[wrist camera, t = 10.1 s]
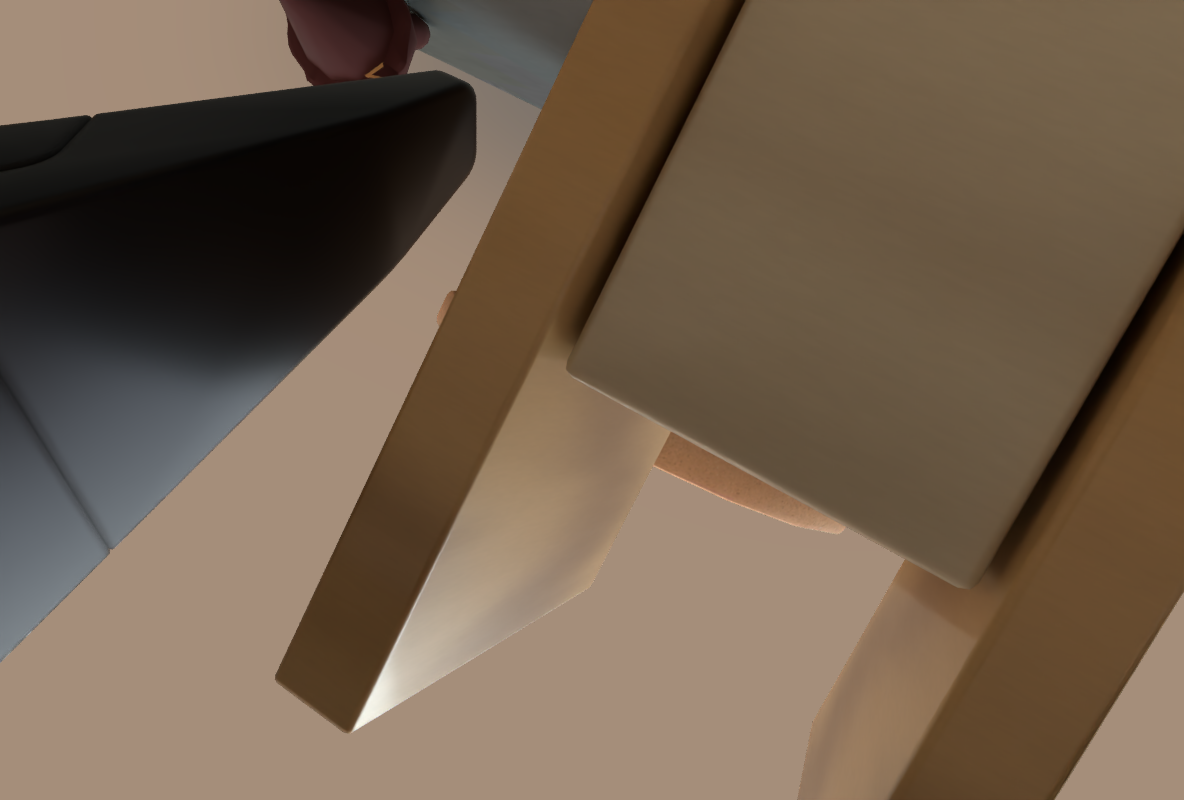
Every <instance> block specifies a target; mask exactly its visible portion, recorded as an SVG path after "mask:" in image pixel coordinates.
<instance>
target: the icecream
mask: <svg viewBox="0 0 1184 800" xmlns="http://www.w3.org/2000/svg"><path fill="white" fill-rule="evenodd" d="M279 1H280V3H281V5H282V7H283V9H284V11H285V13H286V16H287V22H288V32H287V34H288V45H289V48H290V50H291V52H292V55H293V56H294V57H295V59H296V60H297V62H298V63H299V64H300V66H301V67H302V68H303V70H304V71H305V75H306V78H307V81H309V82H310V83H312V85H313V86H317V85H325V84H333V83H341V82H348V81H356V80H364V79H372V78H379V77H387V76H395V75H403V74H407V72H408V69H409V66H410V63H411V60H412V57H413V54H414V52H415V50H418V49H422V48H423V47H424V46H425V45H426V44H427V43H428V41H429V38H430V31H429V27H428V25H427V24H426V23H425V22H424V21H423V20H422V19H420V18H419V17H418V16H417V15H416V14H412V13H410V10H409V6H408V5H407V4H406V2H405V1H404V0H279Z"/></svg>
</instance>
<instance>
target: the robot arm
mask: <svg viewBox="0 0 1184 800" xmlns="http://www.w3.org/2000/svg"><path fill="white" fill-rule="evenodd" d="M475 158H476V95H475V92H474V89H473V88H472V86H471V85H470V84H469V83H467V82H465V81H463V80H461V79H458V78H456V77H454V76H452V75H449V74H447V73H445V72H442V71H437V70H435V71H426V72H418V73H410V74H403V75H395V76H387V77H379V78H372V79H364V80H356V81H348V82H341V83H333V84H325V85H317V86H310V87H302V88H295V89H287V90H279V91H271V92H263V93H255V94H248V95H240V96H232V97H225V98H217V99H209V100H202V101H193V102H186V103H178V104H171V105H162V106H155V107H148V108H139V109H132V110H124V111H116V112H108V113H100V114H96V115H95V116H94V117H93V118H91V117H90V116H87V115H84V116H76V117H68V118H61V119H54V120H45V121H36V122H27V123H18V124H10V125H1V126H0V662H1V661H2V660H4V659H5V657H6V656H8V654H10V653H11V652H12V651H13V650H14V648H16V647H17V646H18V645H19V644H20V643H21V642H22V641H23V639H24V638H26V636H28V635H29V634H30V633H31V631H33V630H34V629H35V628H36V627H37V626H38V624H40V623H41V622H42V621H43V620H44V619H45V618H46V617H47V616H48V615H49V614H50V612H52V610H53V609H55V608H56V607H57V606H58V605H59V603H61V601H63V599H65V598H66V597H67V596H68V595H69V594H70V593H71V592H72V591H73V590H74V589H75V588H76V587H77V586H78V584H80V583H81V582H82V581H83V580H84V579H85V578H86V577H87V576H88V575H89V574H90V573H91V572H92V571H93V570H94V569H95V568H96V567H97V565H99V564H100V563H101V562H102V561H103V560H104V559H105V558H106V557H107V556H108V555H109V553H110V549H114V548H115V547H116V546H117V545H118V544H119V543H120V542H121V541H122V540H123V539H124V538H125V537H126V536H127V535H128V534H129V533H130V532H131V531H132V530H133V529H134V528H135V527H136V526H137V525H138V524H139V523H140V522H141V521H142V520H143V519H144V518H145V517H146V516H147V515H148V514H149V513H150V512H151V511H152V510H153V509H154V508H155V507H156V506H157V505H158V504H159V503H160V502H161V501H162V500H163V499H164V498H165V497H166V496H167V495H168V494H169V493H170V492H171V491H172V490H173V489H174V488H175V487H176V486H177V485H178V484H179V483H180V482H181V481H182V480H183V479H184V478H185V477H186V476H187V475H188V474H189V473H190V472H191V471H192V470H193V469H194V468H195V467H196V466H197V465H198V464H199V463H200V462H201V461H202V460H203V459H204V458H205V457H206V456H207V455H208V454H209V453H210V452H211V451H212V450H213V449H214V448H215V447H216V446H217V445H218V444H219V443H220V442H221V441H222V440H223V439H224V438H225V437H226V436H227V435H228V434H229V433H230V432H231V431H232V430H233V429H234V428H235V427H236V426H237V425H238V424H239V423H240V422H241V421H242V420H243V419H244V418H245V417H246V416H247V415H248V414H249V413H250V412H251V411H252V410H253V409H254V408H255V407H256V406H257V405H258V404H259V403H260V402H261V401H262V400H263V399H264V398H265V397H267V395H269V393H271V392H272V391H273V389H274V388H276V386H278V384H279V383H280V382H281V381H283V380H284V379H285V378H286V377H287V376H288V375H289V374H290V372H291V371H293V370H294V369H295V367H297V366H298V365H299V364H300V363H301V362H302V361H303V359H305V358H306V357H307V356H308V354H310V353H311V351H312V350H314V349H315V348H316V346H318V345H319V344H320V343H321V342H322V341H323V339H325V338H326V337H327V336H328V335H329V334H330V333H331V331H333V329H335V328H336V327H337V326H338V325H339V324H340V323H341V322H342V321H343V319H345V318H346V317H347V316H348V315H349V314H350V312H352V311H353V310H354V309H355V308H356V307H357V306H358V305H359V304H360V303H361V302H362V301H363V300H364V299H365V298H366V297H367V296H368V295H369V294H370V293H371V292H372V291H373V290H374V289H375V288H376V287H377V286H378V285H379V283H381V281H383V279H384V278H385V277H386V276H387V275H388V274H389V273H390V272H391V271H392V270H393V269H394V267H395V266H396V265H397V264H398V263H399V262H400V260H401V259H402V258H403V257H404V256H405V255H406V253H407V252H408V251H409V249H410V248H411V247H412V246H413V245H414V243H415V242H416V241H417V240H418V238H419V237H420V235H422V233H423V232H424V231H425V229H426V228H427V227H428V226H429V225H430V223H431V222H432V221H433V219H434V218H435V217H436V216H437V214H438V213H439V212H440V211H441V209H442V208H443V207H444V206H445V204H446V203H447V202H448V201H449V199H450V198H451V197H452V196H453V194H454V193H455V192H456V191H457V189H458V188H459V187H460V186H461V184H462V183H463V182H464V181H465V179H466V178H467V176H468V175H469V174H470V172H471V170H472V168H473V165H474V162H475Z"/></svg>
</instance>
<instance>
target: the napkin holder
mask: <svg viewBox="0 0 1184 800" xmlns="http://www.w3.org/2000/svg"><path fill="white" fill-rule="evenodd" d="M670 432H673V433H675V434H676V435H678V436H680V437H682V438H684V439H686V440H687V441H689V442H691V443H693V444H695V445H697V446H698V447H700V448H702V449H704V450H706V451H708V452H709V453H711V454H713V455H715V456H717V457H719V458H720V459H722V460H724V461H726V462H728V463H730V464H731V465H733V466H735V467H737V468H739V469H741V470H742V471H744V472H746V473H748V474H750V475H752V476H754V477H755V478H757V479H759V480H761V481H763V482H765V483H766V484H768V485H770V486H772V487H774V488H776V489H777V490H779V491H781V492H783V493H785V494H787V495H788V496H790V497H792V498H794V499H796V500H798V501H799V502H801V503H803V504H805V505H807V506H809V507H810V508H812V509H814V510H816V511H818V512H820V513H821V514H823V515H825V516H827V517H829V518H831V519H832V520H834V521H836V522H838V523H840V524H842V525H843V526H845V527H847V528H849V529H851V530H853V531H854V532H856V533H858V534H860V535H862V536H864V537H865V538H867V539H869V540H871V541H873V542H875V543H876V544H878V545H880V546H882V547H884V548H886V549H887V550H889V551H891V552H893V553H895V554H897V555H898V556H900V557H902V558H904V559H905V560H904V562H903V564H902V566H901V567H900V569H899V571H898V573H897V574H896V576H895V578H894V580H893V582H892V583H891V585H890V587H889V589H888V590H887V592H886V594H885V596H884V598H883V599H882V601H881V603H880V605H879V606H878V608H877V610H876V611H875V613H874V615H873V617H872V618H871V620H870V622H869V624H868V626H867V627H866V629H865V631H864V633H863V634H862V636H861V638H860V640H859V642H858V643H857V645H856V647H855V649H854V650H853V652H852V654H851V656H850V657H849V659H848V661H847V662H846V664H845V666H844V668H843V669H842V671H841V673H840V675H839V677H838V678H837V680H836V682H835V684H834V685H833V687H832V689H831V691H830V692H829V694H828V696H827V698H826V699H825V701H824V703H823V705H822V706H821V708H820V710H819V712H818V713H817V715H816V717H815V719H814V721H813V722H812V728H811V732H810V738H809V743H808V748H807V753H806V759H805V763H804V768H803V773H802V778H801V784H800V789H799V794H798V799H797V800H1055V799H1056V798H1057V796H1058V794H1059V793H1060V791H1061V790H1062V788H1063V786H1064V784H1065V783H1066V781H1067V780H1068V778H1069V777H1070V775H1071V773H1072V772H1073V770H1074V768H1075V767H1076V765H1077V764H1078V762H1079V760H1080V759H1081V757H1082V755H1083V754H1084V752H1085V751H1086V749H1087V748H1088V746H1089V744H1090V743H1091V741H1092V739H1093V738H1094V736H1095V735H1096V733H1097V731H1098V730H1099V728H1100V726H1101V725H1102V723H1103V722H1104V720H1105V718H1106V717H1107V715H1108V713H1109V712H1110V710H1111V709H1112V707H1113V705H1114V704H1115V702H1116V701H1117V699H1118V697H1119V696H1120V694H1121V693H1122V691H1123V689H1124V688H1125V686H1126V684H1127V683H1128V681H1129V680H1130V678H1131V676H1132V675H1133V673H1134V672H1135V670H1136V668H1137V667H1138V665H1139V663H1140V662H1141V660H1142V659H1143V657H1144V655H1145V653H1146V652H1147V651H1148V649H1149V647H1150V646H1151V644H1152V642H1153V641H1154V639H1155V637H1156V636H1157V634H1158V633H1159V631H1160V629H1161V628H1162V626H1163V624H1164V623H1165V621H1166V620H1167V618H1168V616H1169V615H1170V613H1171V612H1172V610H1173V608H1174V607H1175V605H1176V604H1177V602H1178V600H1179V599H1180V597H1181V596H1182V594H1183V592H1184V0H593V2H592V4H591V6H590V8H589V10H588V13H587V15H586V17H585V19H584V21H583V23H582V25H581V27H580V30H579V32H578V34H577V36H576V38H575V40H574V42H573V44H572V47H571V49H570V51H569V53H568V55H567V57H566V59H565V61H564V64H563V66H562V68H561V70H560V72H559V74H558V76H557V78H556V81H555V83H554V85H553V87H552V89H551V91H550V93H549V95H548V97H547V100H546V102H545V104H544V106H543V108H542V110H541V112H540V115H539V117H538V119H537V121H536V123H535V125H534V128H533V129H532V131H531V134H530V136H529V138H528V140H527V142H526V144H525V146H524V148H523V151H522V153H521V155H520V157H519V159H518V161H517V163H516V165H515V168H514V170H513V172H512V174H511V176H510V178H509V180H508V182H507V185H506V187H505V189H504V191H503V193H502V195H501V197H500V199H499V202H498V204H497V206H496V208H495V210H494V212H493V214H492V216H491V219H490V221H489V223H488V225H487V227H486V229H485V231H484V234H483V235H482V238H481V240H480V242H479V244H478V246H477V248H476V250H475V253H474V255H473V257H472V259H471V261H470V263H469V265H468V267H467V270H466V272H465V274H464V276H463V278H462V280H461V282H460V285H459V286H458V289H457V291H456V293H455V295H454V297H453V299H452V301H451V303H450V306H449V308H448V310H447V312H446V314H445V316H444V318H443V320H442V323H441V325H440V327H439V329H438V331H437V333H436V335H435V337H434V340H433V342H432V344H431V346H430V348H429V350H428V352H427V354H426V357H425V359H424V361H423V363H422V365H421V367H420V369H419V371H418V373H417V376H416V378H415V380H414V382H413V384H412V386H411V388H410V390H409V393H408V395H407V397H406V399H405V401H404V403H403V405H402V408H401V410H400V412H399V414H398V416H397V418H396V420H395V423H394V424H393V427H392V429H391V431H390V433H389V435H388V437H387V439H386V441H385V444H384V446H383V448H382V450H381V452H380V454H379V456H378V459H377V461H376V463H375V465H374V467H373V469H372V471H371V474H370V476H369V478H368V480H367V482H366V484H365V486H364V488H363V490H362V493H361V495H360V497H359V499H358V501H357V503H356V505H355V507H354V509H353V512H352V514H351V516H350V518H349V520H348V522H347V524H346V526H345V529H344V531H343V533H342V535H341V537H340V539H339V541H338V543H337V545H336V548H335V550H334V552H333V554H332V556H331V558H330V560H329V562H328V565H327V567H326V569H325V571H324V573H323V575H322V578H321V579H320V582H319V584H318V586H317V588H316V590H315V592H314V594H313V597H312V599H311V601H310V603H309V605H308V607H307V609H306V611H305V613H304V616H303V618H302V620H301V622H300V624H299V626H298V628H297V630H296V633H295V635H294V637H293V639H292V641H291V643H290V645H289V647H288V650H287V652H286V654H285V656H284V658H283V660H282V662H281V664H280V666H279V669H278V671H277V673H276V675H275V680H276V682H277V683H278V684H279V685H281V686H282V687H283V688H285V689H286V690H287V691H289V692H290V693H291V694H293V695H294V696H296V697H297V698H298V699H299V700H301V701H302V702H303V703H305V704H306V705H308V706H309V707H310V708H312V709H313V710H314V711H316V712H317V713H318V714H320V715H321V716H322V717H324V718H325V719H326V720H328V721H329V722H330V723H332V724H333V725H334V726H336V727H337V728H338V729H340V730H341V731H342V732H345V733H352V732H354V731H355V730H357V729H359V728H360V727H362V726H364V725H365V724H367V723H368V722H370V721H372V720H373V719H375V718H377V717H378V716H380V715H382V714H383V713H385V712H386V711H388V710H390V709H391V708H393V707H395V706H396V705H398V704H400V703H401V702H403V701H405V700H406V699H408V698H409V697H411V696H413V695H414V694H416V693H418V692H419V691H421V690H422V689H424V688H426V687H427V686H429V685H431V684H432V683H434V682H436V681H437V680H439V679H440V678H442V677H444V676H445V675H447V674H449V673H450V672H452V671H454V670H455V669H457V668H458V667H460V666H462V665H463V664H465V663H467V662H468V661H470V660H472V659H473V658H475V657H477V656H478V655H480V654H481V653H483V652H485V651H486V650H488V649H490V648H491V647H493V646H495V645H496V644H498V643H499V642H501V641H503V640H504V639H506V638H508V637H509V636H511V635H513V634H514V633H516V632H517V631H519V630H521V629H522V628H524V627H526V626H527V625H529V624H531V623H532V622H534V621H535V620H537V619H539V618H540V617H542V616H544V615H545V614H547V613H549V612H550V611H552V610H554V609H555V608H557V607H558V606H560V605H562V604H563V603H565V602H567V601H568V600H570V599H572V598H573V597H575V596H576V595H578V594H580V593H581V592H583V591H585V590H586V589H588V588H589V587H590V586H591V585H592V583H593V581H594V579H595V577H596V575H597V573H598V571H599V569H600V568H601V566H602V564H603V562H604V560H605V558H606V556H607V554H608V552H609V550H610V548H611V546H612V544H613V542H614V541H615V539H616V537H617V535H618V533H619V531H620V529H621V527H622V525H623V523H624V521H625V519H626V517H627V515H628V513H629V511H630V510H631V507H632V506H633V504H634V502H635V500H636V498H637V496H638V494H639V492H640V490H641V488H642V486H643V484H644V482H645V481H646V479H647V477H648V475H649V473H650V471H651V469H652V467H653V465H654V463H655V461H656V459H657V457H658V456H659V454H660V452H661V450H662V448H663V446H664V444H665V442H666V440H667V438H668V436H669V434H670Z"/></svg>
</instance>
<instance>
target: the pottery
mask: <svg viewBox="0 0 1184 800" xmlns="http://www.w3.org/2000/svg"><path fill="white" fill-rule="evenodd" d="M455 293H456V291H451V292H449V293H448V294H447V296H446V298H445V300H444V302H443V304H442V307H441V309H440V311H439V313H438V315H437V323H438V325H439V327H440V325H441V323H442V320H443V318H444V316H445V314H446V312H447V310H448V308H449V306H450V303H451V301H452V299H453V297H454V295H455ZM653 466H654V467H656V468H658V469H660V470H662V471H665V472H667V473H669V474H671V475H673V476H675V477H677V478H679V479H682V480H684V481H686V482H688V483H690V484H692V485H695V486H697V487H699V488H701V489H703V490H705V491H708V492H710V493H712V494H714V495H716V496H718V497H720V498H723V499H725V500H727V501H729V502H732V503H735V504H737V505H740V506H743V507H746V508H748V509H751V510H753V511H756V512H759V513H762V514H764V515H767V516H769V517H772V518H775V519H778V520H780V521H783V522H785V523H788V524H791V525H793V526H797V527H803V528H808V529H813V530H818V531H823V532H828V533H833V534H839V533H841V532H842V531H843V530H844V529H845V528H846V527H845V526H843V525H842V524H840V523H838V522H836V521H834V520H832V519H831V518H829V517H827V516H825V515H823V514H821V513H820V512H818V511H816V510H814V509H812V508H810V507H809V506H807V505H805V504H803V503H801V502H799V501H798V500H796V499H794V498H792V497H790V496H788V495H787V494H785V493H783V492H781V491H779V490H777V489H776V488H774V487H772V486H770V485H768V484H766V483H765V482H763V481H761V480H759V479H757V478H755V477H754V476H752V475H750V474H748V473H746V472H744V471H742V470H741V469H739V468H737V467H735V466H733V465H731V464H730V463H728V462H726V461H724V460H722V459H720V458H719V457H717V456H715V455H713V454H711V453H709V452H708V451H706V450H704V449H702V448H700V447H698V446H697V445H695V444H693V443H691V442H689V441H687V440H686V439H684V438H682V437H680V436H678V435H676V434H675V433H673V432H670V434H669V436H668V438H667V440H666V442H665V444H664V446H663V448H662V450H661V452H660V454H659V456H658V457H657V459H656V461H655V463H654V465H653Z"/></svg>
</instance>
